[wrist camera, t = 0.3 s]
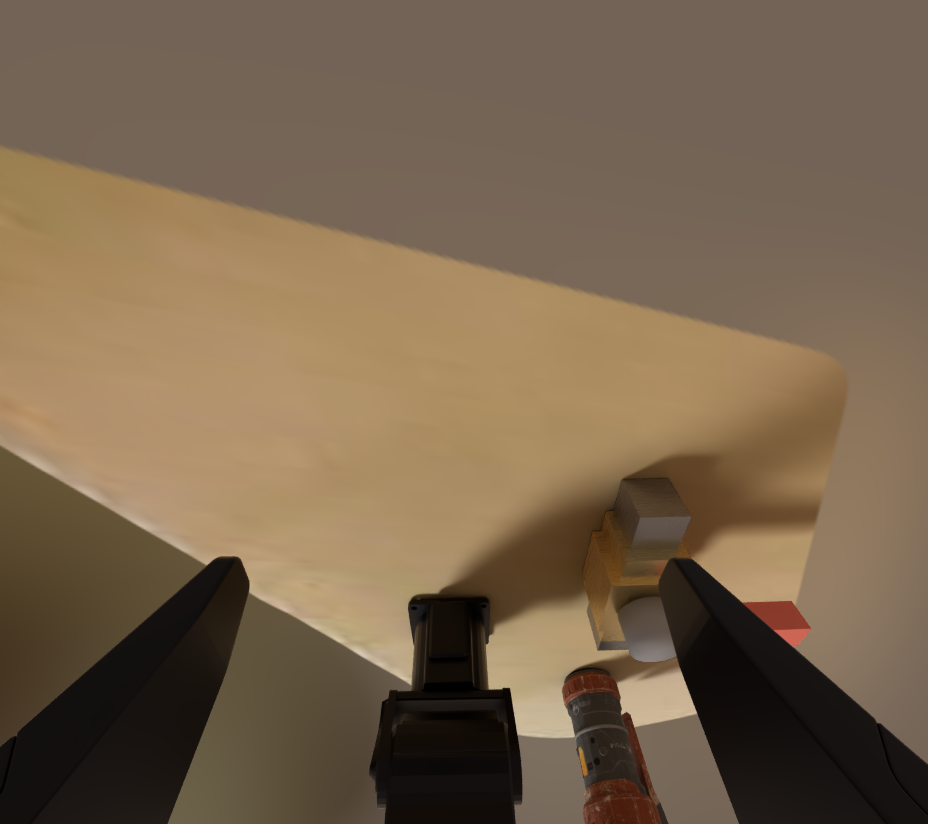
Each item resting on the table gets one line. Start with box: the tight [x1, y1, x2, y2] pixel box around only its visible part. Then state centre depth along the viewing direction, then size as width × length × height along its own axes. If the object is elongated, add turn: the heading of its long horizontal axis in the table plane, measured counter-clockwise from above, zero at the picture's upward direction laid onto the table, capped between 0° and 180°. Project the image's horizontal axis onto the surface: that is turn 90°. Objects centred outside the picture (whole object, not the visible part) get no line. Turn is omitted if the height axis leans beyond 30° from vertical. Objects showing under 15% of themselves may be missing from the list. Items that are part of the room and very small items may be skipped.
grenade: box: [562, 669, 668, 824], centre depth 36 cm, size 6×8×15 cm
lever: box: [618, 597, 811, 662], centre depth 27 cm, size 11×4×2 cm, turn 91°
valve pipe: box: [582, 478, 692, 650], centre depth 30 cm, size 15×5×4 cm, turn 1°
